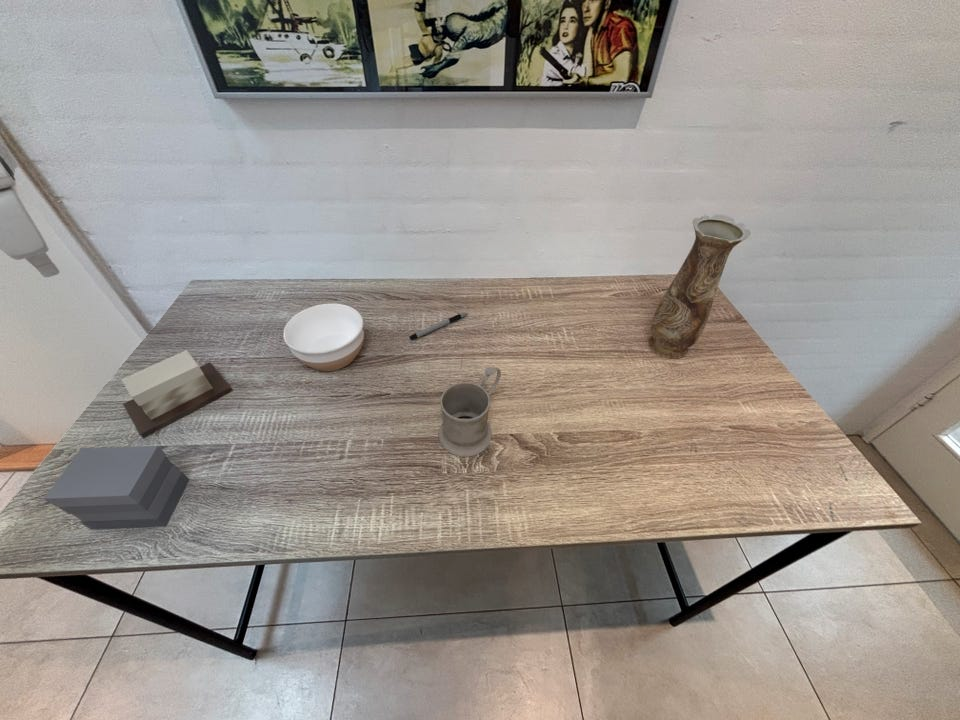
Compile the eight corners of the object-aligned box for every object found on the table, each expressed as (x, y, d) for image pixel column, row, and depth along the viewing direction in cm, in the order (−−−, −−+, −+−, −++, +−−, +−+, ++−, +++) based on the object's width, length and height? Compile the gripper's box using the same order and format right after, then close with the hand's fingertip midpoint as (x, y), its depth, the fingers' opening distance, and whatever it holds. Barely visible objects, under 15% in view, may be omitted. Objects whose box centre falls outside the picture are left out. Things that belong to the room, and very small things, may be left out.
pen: (409, 338, 95) (408, 334, 94) (466, 313, 102) (466, 309, 101) (411, 342, 94) (411, 337, 93) (469, 315, 101) (469, 311, 100)
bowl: (384, 351, 91) (378, 323, 86) (323, 392, 82) (313, 364, 77) (339, 321, 98) (332, 294, 93) (279, 356, 89) (267, 328, 84)
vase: (700, 354, 93) (768, 232, 72) (665, 367, 90) (725, 244, 69) (667, 327, 100) (721, 208, 79) (633, 338, 97) (680, 218, 76)
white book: (139, 406, 72) (131, 397, 71) (129, 388, 75) (121, 379, 73) (204, 374, 78) (198, 365, 76) (192, 359, 81) (186, 349, 79)
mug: (467, 466, 71) (467, 425, 63) (427, 435, 76) (423, 393, 67) (516, 417, 79) (523, 375, 71) (478, 391, 84) (480, 349, 75)
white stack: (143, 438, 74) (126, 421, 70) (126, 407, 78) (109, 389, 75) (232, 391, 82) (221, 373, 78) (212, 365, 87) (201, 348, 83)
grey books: (90, 529, 62) (43, 498, 55) (120, 481, 68) (80, 448, 61) (166, 526, 63) (128, 495, 56) (189, 479, 68) (158, 445, 61)
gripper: (-84, 142, 52) (3, 241, 61) (-71, 190, 42) (30, 300, 52) (-18, 132, 55) (55, 228, 65) (8, 174, 45) (89, 280, 55)
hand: (44, 260), depth 58 cm, fingers open, 8 cm apart
